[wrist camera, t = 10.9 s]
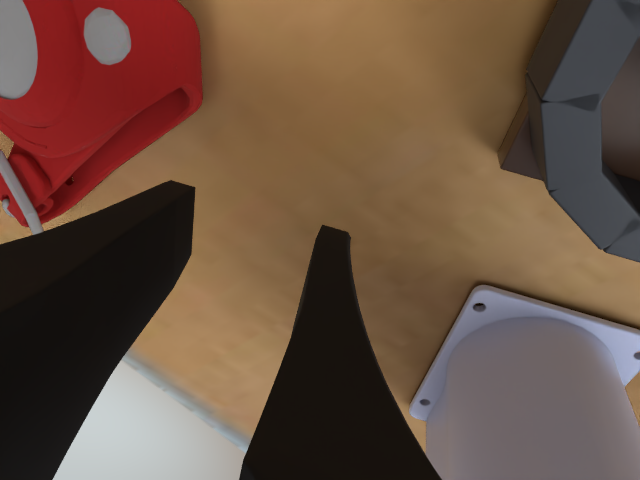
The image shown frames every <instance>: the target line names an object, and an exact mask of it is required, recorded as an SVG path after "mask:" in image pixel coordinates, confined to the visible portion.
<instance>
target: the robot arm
mask: <svg viewBox="0 0 640 480" xmlns="http://www.w3.org/2000/svg"><path fill="white" fill-rule="evenodd" d="M194 202H195V187H192V186H189V185H185V184H182V183H179V182H175V181H172V180H170V181H167V182H165V183H162V184H160V185H157V186H155V187H153V188H151V189H148V190H146V191H144V192H141V193H139V194H137V195H135V196H132V197H130V198H128V199H126V200H123V201H121V202H119V203H116V204H114V205H112V206H109V207H107V208H105V209H102V210H100V211H98V212H95V213H93V214H90V215H87V216H85V217H82V218H79V219H77V220H74V221H71V222H69V223H66V224H63V225H61V226H58V227H56V228H53V229H50V230H47V231H44V232H41V233H38V234H35V235H31V236H28V237H25V238H21V239H18V240H14V241H11V242H7V243H4V244H0V480H52V479H53V478H54V476H55V474H56V472H57V470H58V468H59V466H60V464H61V462H62V460H63V458H64V456H65V455H66V453H67V451H68V449H69V447H70V446H71V443H72V442H73V440H74V438H75V437H76V435H77V433H78V431H79V429H80V427H81V426H82V424H83V422H84V420H85V419H86V417H87V415H88V413H89V411H90V410H91V408H92V406H93V404H94V403H95V401H96V399H97V398H98V396H99V394H100V392H101V391H102V389H103V387H104V386H105V384H106V382H107V381H108V379H109V377H110V375H111V374H112V372H113V371H114V369H115V368H116V366H117V365H118V363H119V362H120V360H121V359H122V358H123V356H124V355H125V353H126V352H127V351H128V349H129V348H130V347H131V345H132V344H133V343H134V341H135V340H136V339H137V337H138V336H139V334H140V333H141V332H142V330H143V329H144V328H145V326H146V325H147V324H148V322H149V321H150V320H151V318H152V317H153V315H154V314H155V313H156V311H157V310H158V309H159V307H160V306H161V304H162V303H163V302H164V300H165V299H166V298H167V296H168V295H169V293H170V292H171V291H172V289H173V288H174V286H175V284H176V282H177V280H178V279H179V277H180V275H181V273H182V271H183V269H184V268H185V266H186V264H187V262H188V260H189V258H190V256H191V252H192V235H193V219H194ZM350 241H351V237H350V235H349V233H348V232H346V231H342V230H339V229H336V228H332V227H329V226H325V225H322V226H321V228H320V231H319V233H318V235H317V238H316V240H315V244H314V248H313V252H312V256H311V260H310V263H309V267H308V271H307V275H306V279H305V283H304V287H303V291H302V295H301V299H300V303H299V307H298V311H297V314H296V318H295V322H294V326H293V331H292V335H291V339H290V342H289V344H288V347H287V350H286V352H285V355H284V358H283V360H282V363H281V366H280V369H279V371H278V374H277V376H276V379H275V382H274V384H273V387H272V389H271V392H270V395H269V397H268V400H267V402H266V405H265V408H264V410H263V413H262V415H261V418H260V420H259V423H258V425H257V428H256V430H255V433H254V435H253V438H252V440H251V443H250V445H249V448H248V450H247V452H246V455H245V457H244V460H243V464H242V469H241V474H240V478H239V480H640V427H639V424H638V422H637V419H636V417H635V414H634V411H633V409H632V406H631V403H630V401H629V398H628V395H627V393H626V390H625V386H626V384H627V383H628V382H629V381H630V380H631V379H632V378H633V377H634V376H635V375H636V374H637V373H638V372H639V371H640V352H639V353H636V352H638V351H640V330H638V329H635V328H631V327H628V326H625V325H621V324H618V323H614V322H611V321H608V320H604V319H601V318H597V317H594V316H591V315H587V314H584V313H580V312H577V311H574V310H570V309H567V308H563V307H560V306H557V305H553V304H550V303H546V302H543V301H540V300H536V299H533V298H529V297H526V296H523V295H519V294H516V293H512V292H509V291H506V290H502V289H499V288H495V287H492V286H489V285H479V286H477V287H475V288H474V289H473V290H472V292H471V294H470V296H469V297H468V299H467V301H466V303H465V305H464V307H463V308H462V310H461V312H460V314H459V316H458V318H457V319H456V321H455V323H454V325H453V327H452V329H451V330H450V332H449V334H448V336H447V338H446V340H445V341H444V343H443V345H442V347H441V349H440V351H439V353H438V354H437V356H436V358H435V360H434V362H433V364H432V365H431V367H430V369H429V371H428V373H427V375H426V376H425V378H424V380H423V382H422V384H421V386H420V387H419V389H418V391H417V393H416V395H415V397H414V398H413V400H412V402H411V404H410V407H409V413H410V415H411V416H412V417H414V418H417V419H420V420H423V421H427V423H426V455H425V453H424V451H423V450H422V448H421V446H420V445H419V443H418V441H417V440H416V438H415V436H414V434H413V433H412V431H411V429H410V428H409V426H408V424H407V422H406V420H405V418H404V416H403V414H402V412H401V410H400V409H399V407H398V405H397V403H396V401H395V399H394V397H393V395H392V393H391V391H390V389H389V387H388V385H387V383H386V381H385V378H384V376H383V374H382V371H381V369H380V367H379V364H378V362H377V359H376V357H375V354H374V351H373V349H372V346H371V343H370V340H369V338H368V335H367V331H366V328H365V325H364V321H363V318H362V315H361V311H360V307H359V303H358V299H357V294H356V289H355V284H354V279H353V273H352V265H351V255H350ZM476 303H483V304H484V305H482V306H476V305H475V304H476Z"/></svg>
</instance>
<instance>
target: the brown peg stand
mask: <svg viewBox="0 0 640 480" xmlns="http://www.w3.org/2000/svg"><path fill="white" fill-rule="evenodd" d="M601 114H602V160H603V161H604V162H605V163H606V165H607V166H608V167H609V168H610V169H611V171H612V172H613V173H614V174H616V175H619V176H623V177H626V178H630V179H633V180H637V181H640V36H639V38H638V40H637V42H636V43H635V45H634V47H633V49H632V50H631V52H630V54H629V55H628V57H627V59H626V61H625V62H624V64H623V66H622V67H621V69H620V71H619V73H618V74H617V76H616V78H615V79H614V81H613V83H612V85H611V86H610V88H609V90H608V91H607V93H606V95H605V97H604V98H603V100H602V102H601ZM498 159H499V164H500V168H501V169H503V170H507V171H510V172H514V173H517V174H521V175H524V176H528V177H531V178H535V179H538V180H542V181H543V178H542V175H541V172H540V170H539V167H538V164H537V162H536V159H535V156H534V153H533V151H532V143H531V133H530V122H529V111H528V100H527V93H526V95H525V97H524V99H523V101H522V103H521V106H520V108H519V110H518V112H517V114H516V116H515V118H514V120H513V122H512V124H511V127H510V129H509V131H508V133H507V135H506V137H505V139H504V141H503V143H502V145H501V148H500V150H499V152H498Z"/></svg>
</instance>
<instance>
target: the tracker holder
mask: <svg viewBox="0 0 640 480" xmlns="http://www.w3.org/2000/svg"><path fill="white" fill-rule="evenodd" d="M202 100H203V92H202V71H201V49H200V35H199V31H198V28H197V25H196V22H195V20H194V18H193V17H192V15H191V14H190V13H189V12H188V11H187V10H186V9H185V8H184V7H183V6H182V5H181V4H180V3H179V2H178V1H177V0H0V130H1V131H2V132H3V133H4V134H5V135H6V136H7V137H8V138H10V139H11V140H12V141H13V142H14V145H13V148H12V150H11V152H10V155H9V157H8V159H7V158H6V156H5V154H4V153H3V151H2V150H0V200H1V201H2V207H3V209H4V210H5V212H6V213H7V214H8V215H10V216H12V217H13V218H16V219H17V220H18V222H19V223H20V224H21V225H22V226H25V227H29V228H30V229H31V231H32V233H33V235H35V234H38V233H41V232H44V230H43V228H42V225H41V224H43V223H45V222H48V221H49V220H51V219H53V218H55V217H57V216H59V215H61V214H63V213H64V212H66V211H67V210H69V209H70V208H71V207H73V206H74V205H75V204H77V203H78V202H79V201H80V200H81V199H82V198H83V197H84V196H86V195H87V194H88V193H89V192H90V191H91V190H92V189H93V188H95V187H96V186H97V185H98V184H99V183H100V182H101V181H102V180H103V179H104V178H106V177H107V176H108V175H109V174H110V173H111V172H112V171H113V170H115V169H116V168H118V167H119V166H120V165H122V164H123V163H125V162H126V161H127V160H129V159H130V158H132V157H133V156H134V155H136V154H137V153H139V152H140V151H142V150H143V149H144V148H146V147H147V146H149V145H150V144H151V143H153V142H154V141H156V140H157V139H158V138H160V137H161V136H163V135H164V134H165V133H167V132H168V131H170V130H171V129H172V128H174V127H175V126H177V125H178V124H179V123H181V122H182V121H184V120H185V119H186V118H188V117H189V116H191V115H192V114H193V113H195V112H196V111H197V110H198V108H199V107H200V106H201V104H202ZM72 177H73V179H74V181H72Z"/></svg>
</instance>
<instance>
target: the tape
mask: <svg viewBox="0 0 640 480" xmlns="http://www.w3.org/2000/svg"><path fill="white" fill-rule="evenodd" d="M639 36H640V0H558V1H557V4H556V6H555V8H554V10H553V12H552V14H551V16H550V19H549V21H548V23H547V25H546V27H545V29H544V31H543V34H542V36H541V38H540V40H539V42H538V44H537V47H536V49H535V51H534V53H533V55H532V57H531V59H530V62H529V64H528V66H527V68H526V70H527V73H526V74H525V79H526V89H527V100H528V111H529V122H530V133H531V143H532V151H533V153H534V156H535V159H536V162H537V164H538V167H539V170H540V172H541V175H542V178H543V181H544V183H545V186H546V189H547V190H548V192H549V195H550V196H551V197H552V198H553V199H554V200H555V201H556V202H557V203H558V204H559V206H560V207H561V208H562V209H563V210H564V211H565V212H566V213H567V214H568V215H569V217H570V218H571V219H572V220H573V221H574V222H575V223H576V224H577V225H578V226H579V227H580V229H581V230H582V231H583V232H584V233H585V234H586V235H587V236H588V237H589V238H590V240H591V241H592V242H593V243H594V244H595V245H596V246H597V247H598V248H599V249H601V250H602V249H603V251H604V252H606V253H609V254H612V255H616V256H619V257H623V258H626V259H630V260H633V261H636V262H640V181H637V180H633V179H630V178H626V177H623V176H619V175H616V174H614V173H613V172H612V171H611V169H610V168H609V167H608V166H607V165H606V163H605V162H604V161H603V160H602V114H601V102H602V100H603V98H604V97H605V95H606V93H607V91H608V90H609V88H610V86H611V85H612V83H613V81H614V79H615V78H616V76H617V74H618V73H619V71H620V69H621V67H622V66H623V64H624V62H625V61H626V59H627V57H628V55H629V54H630V52H631V50H632V49H633V47H634V45H635V43H636V42H637V40H638V38H639Z"/></svg>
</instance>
